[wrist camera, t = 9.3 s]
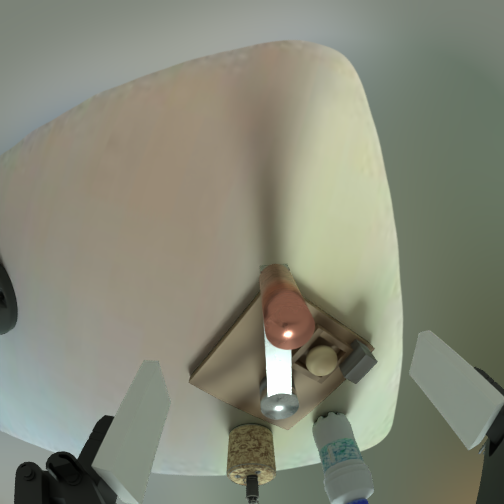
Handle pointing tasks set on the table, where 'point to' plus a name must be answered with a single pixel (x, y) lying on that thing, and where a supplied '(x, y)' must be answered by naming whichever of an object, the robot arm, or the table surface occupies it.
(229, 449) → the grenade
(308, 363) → the nut
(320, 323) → the square wooden tray
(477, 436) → the robot arm
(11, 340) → the table surface
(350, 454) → the bottle
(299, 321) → the lever
